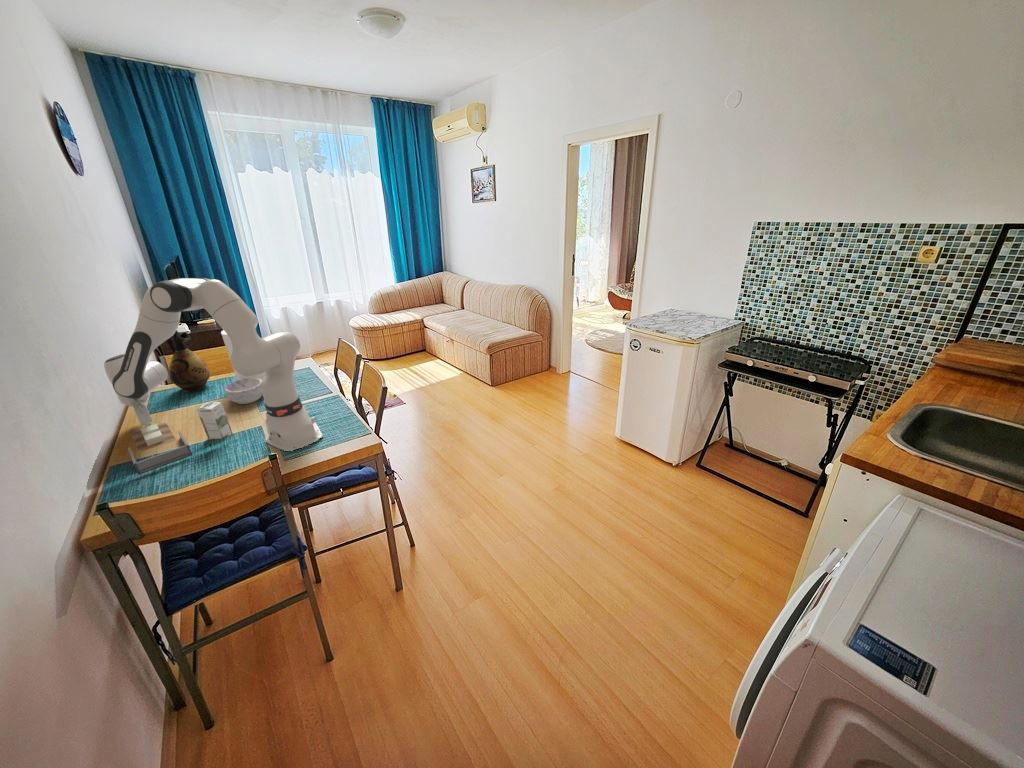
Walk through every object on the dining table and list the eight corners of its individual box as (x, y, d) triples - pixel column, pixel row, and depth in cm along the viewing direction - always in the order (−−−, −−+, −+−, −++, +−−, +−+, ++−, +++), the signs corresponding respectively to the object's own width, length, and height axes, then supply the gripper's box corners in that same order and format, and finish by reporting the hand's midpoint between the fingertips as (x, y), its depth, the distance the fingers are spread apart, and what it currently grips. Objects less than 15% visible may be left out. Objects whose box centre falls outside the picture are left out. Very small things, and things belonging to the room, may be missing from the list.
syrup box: (219, 434, 160) (206, 401, 154) (233, 433, 160) (221, 401, 154) (208, 442, 155) (195, 408, 149) (223, 441, 155) (210, 408, 148)
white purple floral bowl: (255, 407, 180) (249, 391, 177) (221, 407, 181) (215, 391, 177) (274, 392, 194) (269, 377, 191) (243, 392, 194) (237, 377, 191)
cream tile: (164, 440, 154) (162, 434, 153) (148, 446, 150) (145, 440, 149) (162, 435, 157) (159, 430, 156) (146, 441, 154) (143, 435, 153)
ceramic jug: (221, 382, 206) (201, 325, 193) (193, 396, 192) (169, 336, 179) (194, 380, 209) (172, 324, 197) (165, 393, 196) (139, 334, 183)
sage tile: (161, 433, 158) (158, 428, 157) (144, 438, 155) (142, 433, 154) (158, 429, 162) (156, 423, 161) (142, 434, 158) (140, 428, 157)
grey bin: (192, 455, 147) (188, 444, 145) (139, 474, 137) (133, 464, 135) (184, 440, 156) (179, 430, 154) (133, 458, 146) (127, 448, 144)
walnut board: (177, 442, 155) (175, 439, 154) (140, 455, 148) (138, 452, 147) (167, 425, 167) (165, 422, 167) (132, 436, 160) (131, 433, 160)
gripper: (148, 400, 152) (162, 431, 158) (140, 385, 165) (154, 415, 171) (126, 406, 148) (142, 438, 154) (120, 390, 161) (134, 420, 167)
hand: (148, 425), depth 163 cm, fingers closed
